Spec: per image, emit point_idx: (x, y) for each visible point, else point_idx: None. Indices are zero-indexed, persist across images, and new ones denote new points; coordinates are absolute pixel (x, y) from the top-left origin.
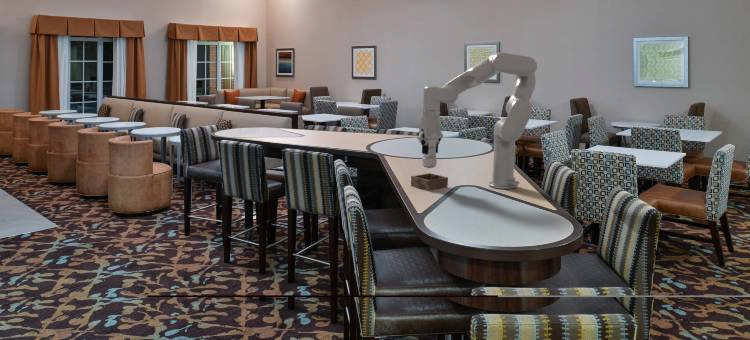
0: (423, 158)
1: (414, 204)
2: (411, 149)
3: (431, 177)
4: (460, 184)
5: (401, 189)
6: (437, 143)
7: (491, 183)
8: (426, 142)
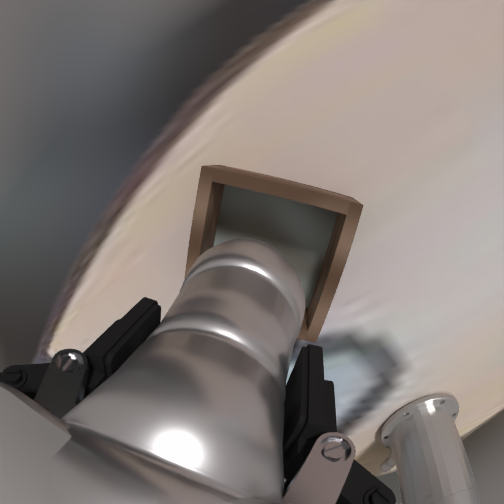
0: (182, 285)
1: (64, 324)
2: None
3: (339, 224)
4: (392, 330)
5: (136, 181)
6: (287, 477)
7: (413, 411)
8: None
